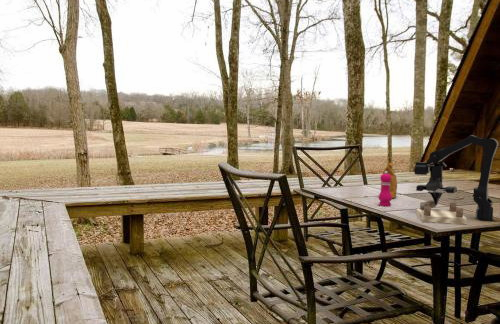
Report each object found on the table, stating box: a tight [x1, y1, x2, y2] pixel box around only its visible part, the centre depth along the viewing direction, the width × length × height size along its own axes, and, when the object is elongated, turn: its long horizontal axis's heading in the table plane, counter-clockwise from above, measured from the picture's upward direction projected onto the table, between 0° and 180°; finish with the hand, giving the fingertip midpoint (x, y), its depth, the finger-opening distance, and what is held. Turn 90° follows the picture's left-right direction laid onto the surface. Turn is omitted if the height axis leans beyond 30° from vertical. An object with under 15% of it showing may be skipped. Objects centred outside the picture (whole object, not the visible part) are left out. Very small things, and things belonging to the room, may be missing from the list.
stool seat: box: [416, 202, 467, 225], centre depth 205 cm, size 19×19×7 cm
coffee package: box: [380, 162, 398, 199], centre depth 266 cm, size 10×12×22 cm
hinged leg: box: [419, 200, 437, 210], centre depth 216 cm, size 12×3×3 cm, turn 131°
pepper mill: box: [378, 171, 393, 207], centre depth 239 cm, size 7×7×20 cm
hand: (436, 205), depth 217 cm, fingers closed
